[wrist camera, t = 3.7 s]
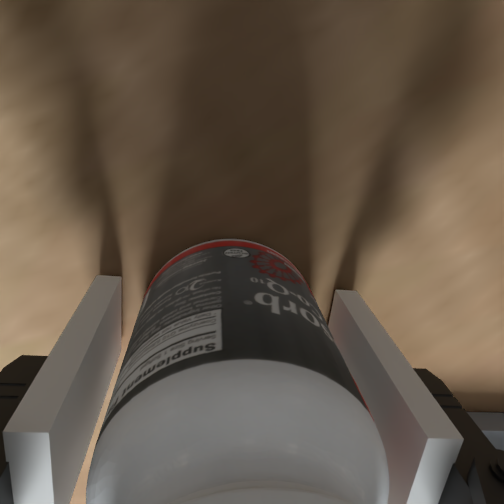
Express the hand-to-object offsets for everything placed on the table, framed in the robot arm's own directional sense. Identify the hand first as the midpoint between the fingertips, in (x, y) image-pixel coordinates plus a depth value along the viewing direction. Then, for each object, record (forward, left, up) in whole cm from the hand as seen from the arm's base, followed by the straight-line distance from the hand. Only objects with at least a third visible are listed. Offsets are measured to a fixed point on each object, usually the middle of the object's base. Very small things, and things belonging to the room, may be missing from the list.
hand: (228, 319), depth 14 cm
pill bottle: (0, 0, 0) cm, 1 cm away
